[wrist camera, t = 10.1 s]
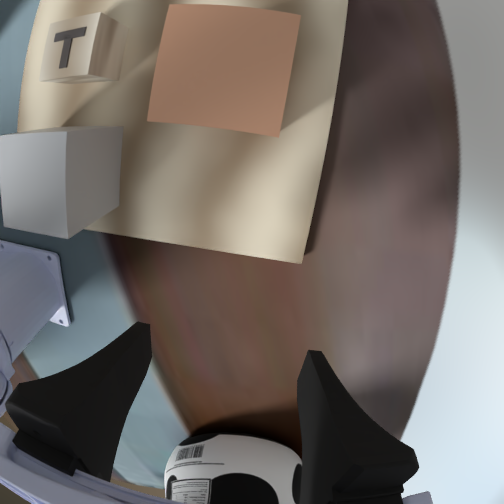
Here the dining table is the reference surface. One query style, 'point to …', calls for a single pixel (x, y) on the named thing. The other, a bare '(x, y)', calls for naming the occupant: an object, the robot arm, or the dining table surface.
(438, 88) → the dining table surface
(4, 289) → the robot arm
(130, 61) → the birch board
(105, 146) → the grey cover
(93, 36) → the letter cube
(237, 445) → the milk container
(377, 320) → the dining table surface
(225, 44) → the terracotta cover
